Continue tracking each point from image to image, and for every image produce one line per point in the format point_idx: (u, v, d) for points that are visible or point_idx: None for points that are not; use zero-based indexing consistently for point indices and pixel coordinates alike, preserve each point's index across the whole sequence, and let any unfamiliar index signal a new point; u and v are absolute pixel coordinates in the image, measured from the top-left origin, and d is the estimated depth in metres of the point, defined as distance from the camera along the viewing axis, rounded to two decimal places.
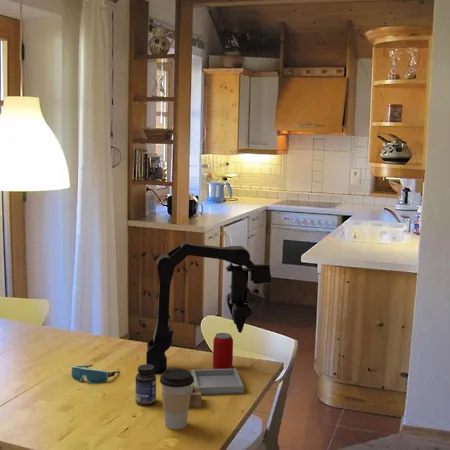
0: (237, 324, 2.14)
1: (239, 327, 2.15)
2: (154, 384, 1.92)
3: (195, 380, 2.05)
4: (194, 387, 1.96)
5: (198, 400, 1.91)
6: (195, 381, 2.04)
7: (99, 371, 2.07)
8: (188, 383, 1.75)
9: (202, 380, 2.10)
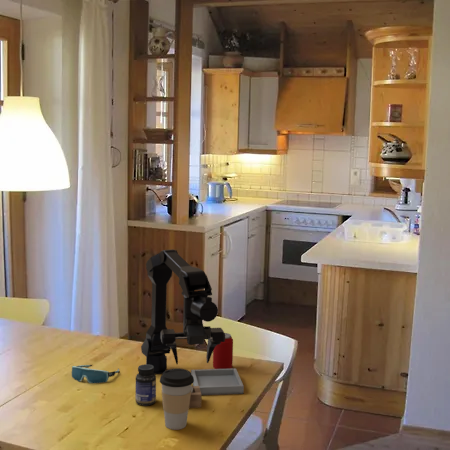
0: None
1: None
2: (154, 384, 1.92)
3: (195, 380, 2.05)
4: (194, 387, 1.96)
5: (198, 400, 1.91)
6: (195, 381, 2.04)
7: (99, 371, 2.07)
8: (188, 383, 1.75)
9: (202, 380, 2.10)
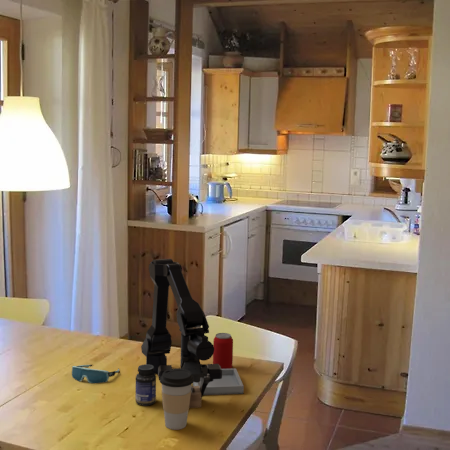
0: None
1: None
2: (154, 384, 1.92)
3: None
4: (194, 387, 1.96)
5: (198, 400, 1.91)
6: None
7: (99, 371, 2.07)
8: (188, 383, 1.75)
9: None
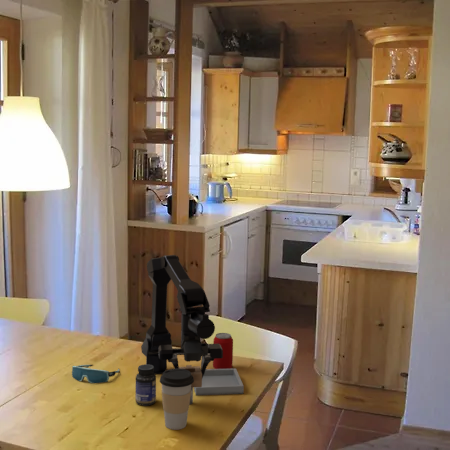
0: None
1: None
2: (154, 384, 1.92)
3: None
4: (195, 367, 1.95)
5: (199, 380, 1.90)
6: None
7: (100, 371, 2.08)
8: (188, 383, 1.75)
9: (202, 380, 2.10)
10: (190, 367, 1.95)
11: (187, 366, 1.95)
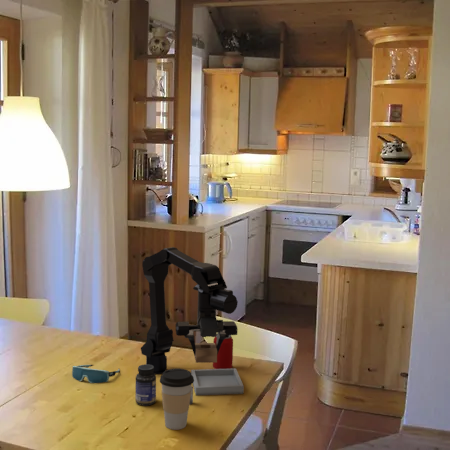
0: None
1: None
2: (154, 384, 1.92)
3: (195, 380, 2.05)
4: (210, 344, 2.02)
5: (214, 355, 1.97)
6: (195, 381, 2.04)
7: (100, 371, 2.08)
8: (188, 383, 1.75)
9: (202, 380, 2.10)
10: (206, 343, 2.02)
11: (203, 343, 2.03)
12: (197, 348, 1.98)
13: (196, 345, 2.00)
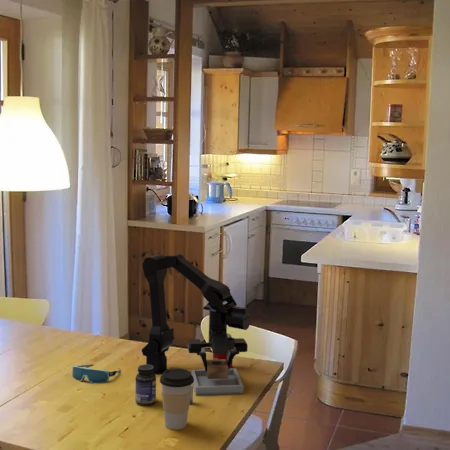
0: None
1: None
2: (154, 384, 1.92)
3: (195, 380, 2.05)
4: (221, 360, 2.10)
5: (225, 372, 2.05)
6: (195, 381, 2.04)
7: (100, 371, 2.08)
8: (188, 383, 1.75)
9: (202, 380, 2.10)
10: (216, 360, 2.10)
11: (214, 359, 2.10)
12: (209, 365, 2.05)
13: (207, 362, 2.08)
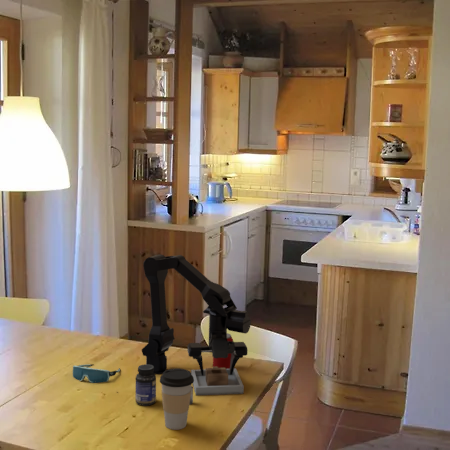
0: None
1: None
2: (154, 384, 1.92)
3: (195, 380, 2.05)
4: (221, 368, 2.10)
5: (225, 380, 2.05)
6: (195, 381, 2.04)
7: None
8: (188, 383, 1.75)
9: (202, 380, 2.10)
10: (216, 368, 2.10)
11: (214, 367, 2.11)
12: (209, 373, 2.06)
13: (207, 370, 2.08)
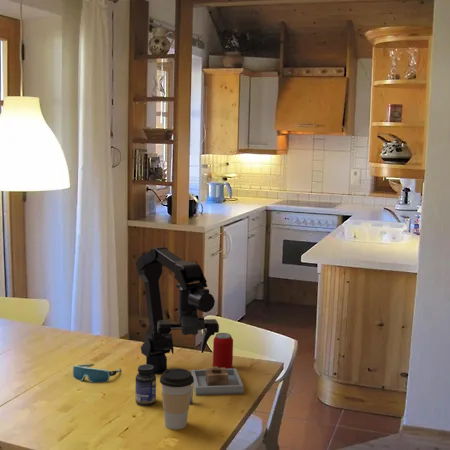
0: None
1: None
2: (154, 384, 1.92)
3: (195, 380, 2.05)
4: (221, 368, 2.10)
5: (225, 380, 2.05)
6: (195, 381, 2.04)
7: (101, 370, 2.08)
8: (188, 383, 1.75)
9: (202, 380, 2.10)
10: (216, 368, 2.10)
11: (214, 367, 2.11)
12: (209, 373, 2.06)
13: (207, 370, 2.08)
